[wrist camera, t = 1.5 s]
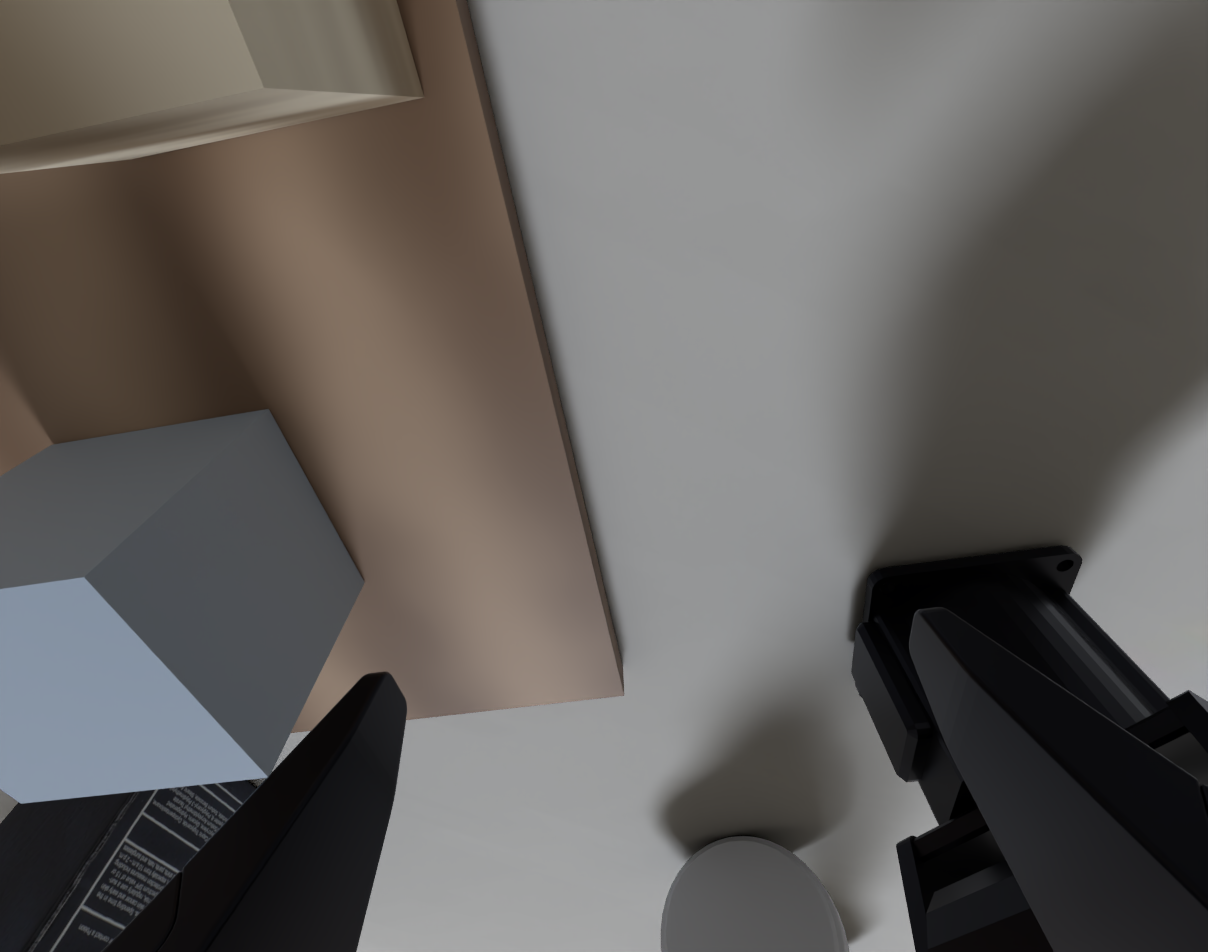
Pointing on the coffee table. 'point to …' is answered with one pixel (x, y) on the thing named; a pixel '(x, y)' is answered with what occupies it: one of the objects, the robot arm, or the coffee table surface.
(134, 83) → the birch cube
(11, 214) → the walnut board
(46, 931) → the small box
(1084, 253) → the coffee table surface
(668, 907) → the headphones
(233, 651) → the slate cube
